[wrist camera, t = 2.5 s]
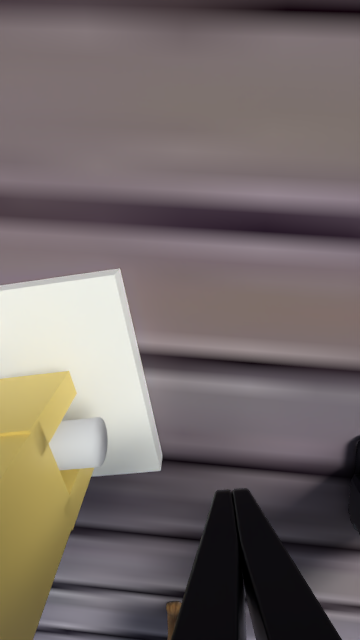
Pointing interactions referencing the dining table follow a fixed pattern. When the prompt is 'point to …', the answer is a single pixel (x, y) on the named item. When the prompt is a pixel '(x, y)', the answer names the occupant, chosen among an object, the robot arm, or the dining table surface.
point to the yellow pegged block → (33, 497)
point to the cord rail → (84, 368)
